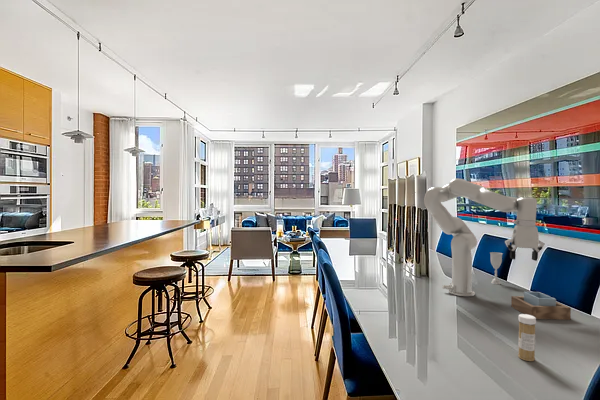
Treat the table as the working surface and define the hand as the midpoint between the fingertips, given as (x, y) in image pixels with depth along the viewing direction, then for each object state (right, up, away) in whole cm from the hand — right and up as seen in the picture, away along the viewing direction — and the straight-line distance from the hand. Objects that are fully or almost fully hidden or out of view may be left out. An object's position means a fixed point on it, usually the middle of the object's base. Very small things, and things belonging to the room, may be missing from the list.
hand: (523, 259), depth 164 cm
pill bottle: (-35, -22, -55) cm, 69 cm away
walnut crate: (0, -22, -11) cm, 24 cm away
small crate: (0, -21, -11) cm, 24 cm away
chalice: (+11, -22, +42) cm, 49 cm away
